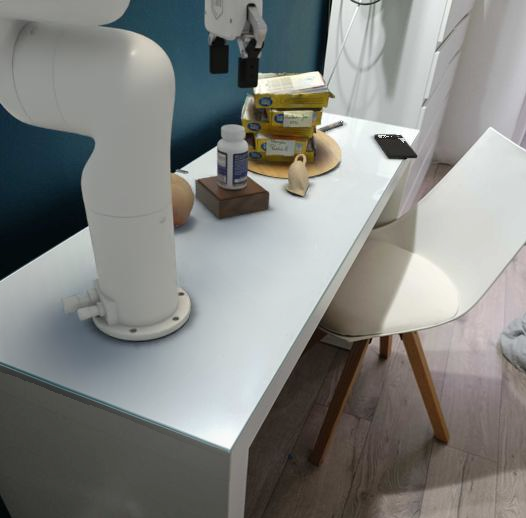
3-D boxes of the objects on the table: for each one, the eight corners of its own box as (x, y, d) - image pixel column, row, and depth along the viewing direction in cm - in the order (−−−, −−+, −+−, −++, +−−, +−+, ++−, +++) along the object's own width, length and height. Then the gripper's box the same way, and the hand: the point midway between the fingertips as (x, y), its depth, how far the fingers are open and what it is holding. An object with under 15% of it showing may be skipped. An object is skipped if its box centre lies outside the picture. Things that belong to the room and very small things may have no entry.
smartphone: (417, 158, 116) (400, 137, 127) (418, 154, 115) (400, 132, 126) (388, 158, 115) (373, 137, 127) (389, 154, 115) (374, 132, 126)
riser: (219, 219, 87) (219, 200, 85) (195, 196, 94) (194, 178, 91) (268, 209, 91) (269, 190, 89) (242, 188, 98) (243, 170, 95)
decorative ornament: (282, 194, 97) (285, 166, 93) (292, 178, 103) (295, 152, 99) (303, 197, 96) (306, 170, 93) (311, 181, 102) (315, 155, 99)
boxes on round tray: (335, 184, 102) (350, 95, 91) (217, 169, 104) (217, 80, 93) (341, 145, 120) (354, 67, 110) (241, 133, 123) (243, 55, 112)
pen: (345, 118, 133) (340, 120, 134) (316, 129, 124) (312, 131, 125) (346, 122, 133) (341, 124, 134) (318, 133, 124) (313, 135, 125)
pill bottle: (248, 180, 92) (250, 124, 86) (245, 191, 88) (247, 134, 82) (219, 177, 92) (219, 121, 86) (214, 189, 88) (214, 131, 82)
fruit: (138, 227, 83) (133, 180, 78) (162, 208, 89) (158, 163, 84) (182, 237, 81) (179, 190, 76) (202, 217, 87) (202, 172, 82)
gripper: (184, -65, 72) (188, 69, 83) (241, -60, 61) (237, 95, 71) (231, -61, 75) (229, 67, 86) (293, -56, 64) (281, 92, 75)
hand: (232, 80), depth 79 cm, fingers open, 9 cm apart
